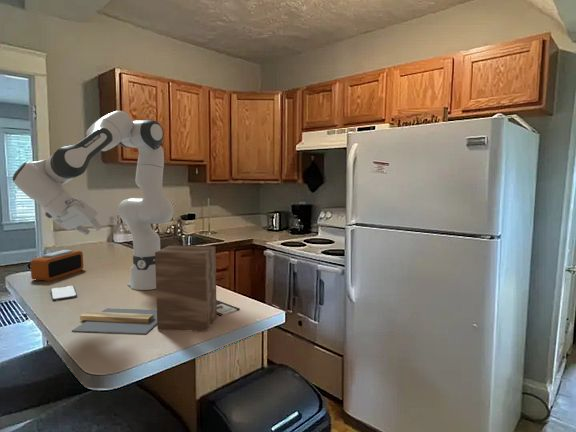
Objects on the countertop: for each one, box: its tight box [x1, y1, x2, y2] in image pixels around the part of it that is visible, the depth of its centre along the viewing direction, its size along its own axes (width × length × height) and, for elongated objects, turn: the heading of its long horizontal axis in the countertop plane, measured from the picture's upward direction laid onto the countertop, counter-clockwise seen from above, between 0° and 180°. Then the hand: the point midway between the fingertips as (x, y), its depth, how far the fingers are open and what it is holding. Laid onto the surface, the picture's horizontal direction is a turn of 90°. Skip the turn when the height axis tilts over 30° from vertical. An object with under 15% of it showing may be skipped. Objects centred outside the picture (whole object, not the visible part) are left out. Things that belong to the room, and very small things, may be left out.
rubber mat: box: [71, 308, 157, 335], centre depth 128 cm, size 20×24×1 cm
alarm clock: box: [30, 249, 84, 282], centre depth 186 cm, size 24×8×11 cm, turn 169°
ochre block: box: [79, 311, 154, 323], centre depth 128 cm, size 4×24×2 cm, turn 84°
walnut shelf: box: [155, 245, 218, 332], centre depth 125 cm, size 12×16×25 cm
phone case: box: [49, 285, 78, 302], centre depth 156 cm, size 9×2×16 cm
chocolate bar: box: [216, 299, 241, 317], centre depth 142 cm, size 9×1×18 cm
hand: (93, 231), depth 134 cm, fingers open, 8 cm apart
